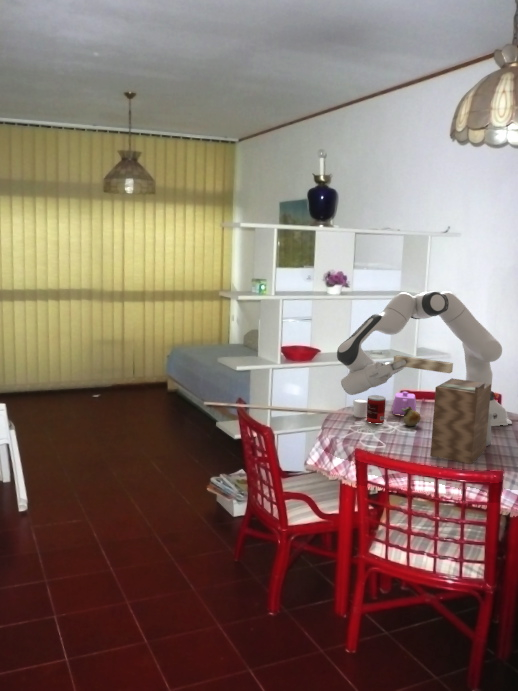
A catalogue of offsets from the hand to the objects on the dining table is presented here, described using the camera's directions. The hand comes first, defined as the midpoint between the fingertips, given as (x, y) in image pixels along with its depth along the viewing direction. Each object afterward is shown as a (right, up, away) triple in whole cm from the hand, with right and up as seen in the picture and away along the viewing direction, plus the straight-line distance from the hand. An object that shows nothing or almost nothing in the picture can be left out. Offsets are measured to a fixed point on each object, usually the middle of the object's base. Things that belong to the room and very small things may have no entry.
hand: (408, 360), depth 259 cm
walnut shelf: (+18, -35, -5) cm, 39 cm away
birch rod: (+5, -3, -3) cm, 6 cm away
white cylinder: (-12, -26, +43) cm, 52 cm away
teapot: (+9, -26, +50) cm, 57 cm away
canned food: (-7, -28, +34) cm, 44 cm away
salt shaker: (+31, -33, +7) cm, 46 cm away
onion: (+8, -29, +30) cm, 42 cm away
